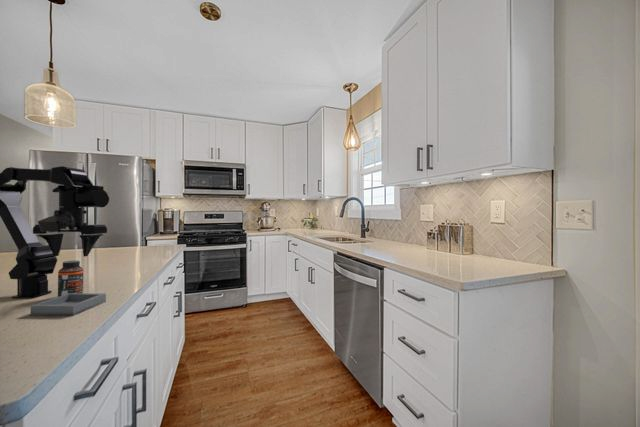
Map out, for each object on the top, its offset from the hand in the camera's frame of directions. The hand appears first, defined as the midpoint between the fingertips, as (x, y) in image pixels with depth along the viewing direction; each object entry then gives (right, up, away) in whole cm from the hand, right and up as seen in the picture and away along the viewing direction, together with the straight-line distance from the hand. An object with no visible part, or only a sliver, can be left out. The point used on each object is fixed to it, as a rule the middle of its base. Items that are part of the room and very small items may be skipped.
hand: (70, 256), depth 86 cm
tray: (+9, -13, -10) cm, 19 cm away
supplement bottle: (0, -13, 0) cm, 13 cm away
